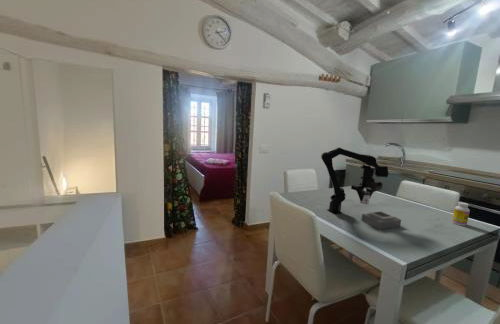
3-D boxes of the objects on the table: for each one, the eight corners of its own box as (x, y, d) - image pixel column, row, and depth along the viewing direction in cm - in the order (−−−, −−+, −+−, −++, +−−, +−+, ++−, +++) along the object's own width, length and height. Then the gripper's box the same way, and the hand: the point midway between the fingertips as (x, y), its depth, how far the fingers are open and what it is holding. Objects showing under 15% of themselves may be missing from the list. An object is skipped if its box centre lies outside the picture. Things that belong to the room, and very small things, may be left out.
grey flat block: (379, 229, 123) (380, 219, 122) (361, 220, 134) (362, 211, 133) (400, 226, 129) (401, 217, 128) (381, 218, 140) (382, 209, 139)
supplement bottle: (463, 226, 133) (468, 205, 131) (449, 222, 139) (453, 202, 137) (468, 225, 136) (473, 204, 134) (454, 220, 142) (458, 200, 140)
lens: (364, 204, 139) (365, 193, 138) (357, 201, 144) (359, 191, 143) (370, 204, 141) (372, 193, 140) (364, 201, 145) (365, 190, 144)
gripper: (366, 179, 129) (363, 206, 131) (390, 178, 135) (387, 203, 138) (351, 175, 139) (348, 199, 142) (374, 174, 146) (371, 198, 148)
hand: (364, 200), depth 142 cm, fingers closed on lens, 5 cm apart
